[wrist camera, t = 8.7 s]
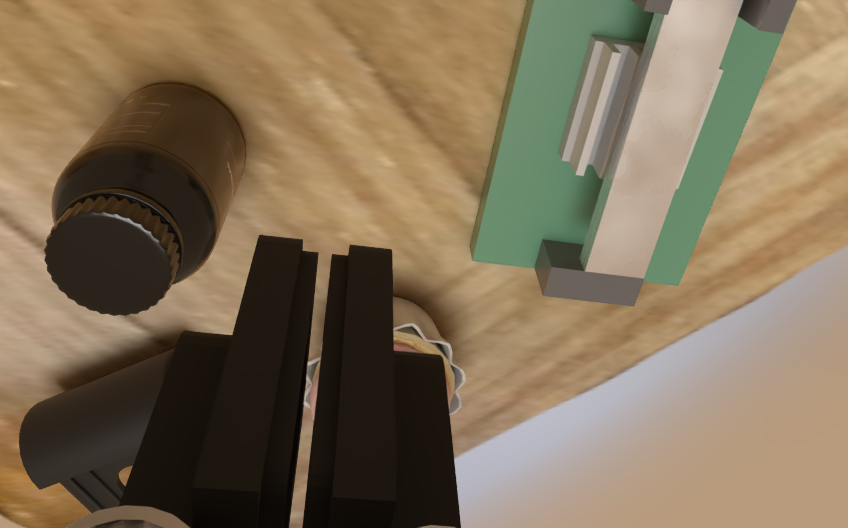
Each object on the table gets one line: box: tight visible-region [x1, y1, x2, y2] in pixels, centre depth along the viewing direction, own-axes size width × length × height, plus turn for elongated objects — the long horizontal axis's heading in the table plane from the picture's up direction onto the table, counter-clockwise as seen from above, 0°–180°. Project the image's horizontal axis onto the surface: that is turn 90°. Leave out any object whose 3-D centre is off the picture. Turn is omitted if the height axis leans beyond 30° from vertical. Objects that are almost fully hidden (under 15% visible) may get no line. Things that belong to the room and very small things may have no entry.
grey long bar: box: [580, 0, 743, 279], centre depth 34 cm, size 15×3×2 cm, turn 170°
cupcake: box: [304, 296, 465, 422], centre depth 42 cm, size 9×9×10 cm
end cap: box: [19, 348, 175, 513], centre depth 45 cm, size 10×7×7 cm
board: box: [470, 0, 797, 306], centre depth 36 cm, size 20×12×7 cm, turn 170°
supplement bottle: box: [44, 84, 245, 316], centre depth 34 cm, size 7×7×12 cm
